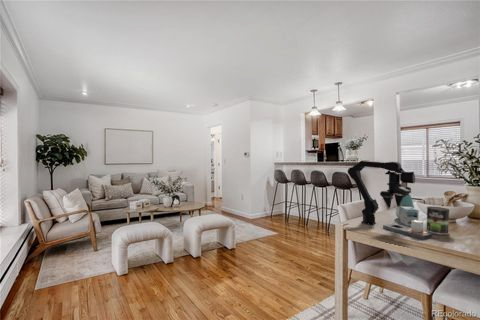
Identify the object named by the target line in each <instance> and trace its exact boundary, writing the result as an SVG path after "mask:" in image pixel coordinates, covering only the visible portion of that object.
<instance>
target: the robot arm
mask: <svg viewBox="0 0 480 320" xmlns="http://www.w3.org/2000/svg"><path fill="white" fill-rule="evenodd" d="M366 167H367V168H377V169H383V170H386V172H385V173H384V174H385V175H388V182H387V184H386V185H387V186H388V189H387V190H382V191H380V192H379V196H380V197H381V198H382V199H383V201H384V202H385V204H386V207H387V208H388V209H391V207H392V206H391V205H392V200H393V199H394V198H395V203H396V207H397V206H398V207H399V206H400V204H401V201H402V199H403V198H404V197H406V195H410V194H411V193H412V188H411V187H410V186H406V187H403V185H402V183H404V184H415V183H416V177H415V176H416V175H415V171H406V170H404V169H403V167H402V164H401V163H400V162H399V161H389V162H383V161H382V162H381V161H380V162H379V161H368V160H361V161H359V162H358V163H355V165H353V166H351V167H349V168H348V169H347V174H348V175H349V177H350V179H352V180H353V181H354V183H355V185H356V186H357V190H358V191H359V193H360V195H361V196H362V199H363V203H364V208H363V209H361V212H362V221H361V223H362V224H367V225H374V224H377V222H376V216H375V213H376V212H377V211H378V210H379V203H378V202H377V199H376V198H375V199H373V198H372V197H371V195H370V193H369V191H368V189H367V187H366V185H365V183H364V181H363V179H362V173H361V171H362V170H363V169H364V168H366ZM400 182H401V183H400Z"/></svg>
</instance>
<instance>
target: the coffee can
mask: <svg viewBox="0 0 480 320" xmlns="http://www.w3.org/2000/svg"><path fill="white" fill-rule="evenodd" d="M449 224H450V209H449V208H445V207H441V206H427V207H426V232H429V233H433V234H436V235H446V236H447V235H449Z"/></svg>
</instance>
